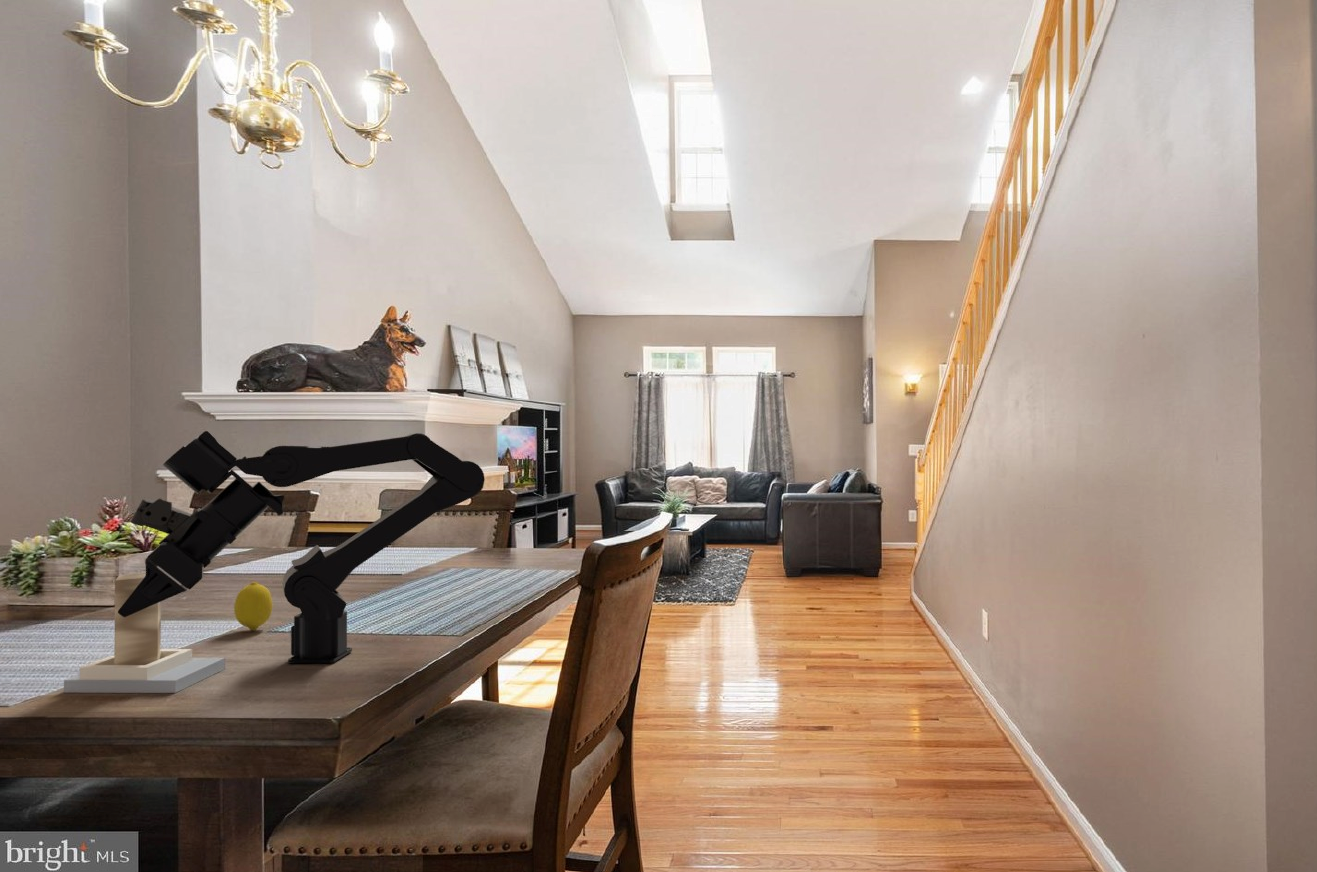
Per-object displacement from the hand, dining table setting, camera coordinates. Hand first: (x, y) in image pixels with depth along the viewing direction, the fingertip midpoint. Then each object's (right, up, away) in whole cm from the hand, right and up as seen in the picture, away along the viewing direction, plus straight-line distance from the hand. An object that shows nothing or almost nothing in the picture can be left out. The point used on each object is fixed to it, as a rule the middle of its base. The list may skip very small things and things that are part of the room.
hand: (125, 607), depth 96 cm
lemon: (+2, -10, +28) cm, 29 cm away
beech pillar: (+1, -8, +1) cm, 8 cm away
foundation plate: (+2, -10, +1) cm, 10 cm away
